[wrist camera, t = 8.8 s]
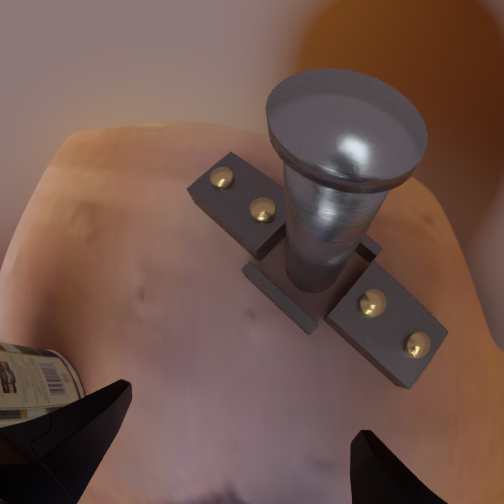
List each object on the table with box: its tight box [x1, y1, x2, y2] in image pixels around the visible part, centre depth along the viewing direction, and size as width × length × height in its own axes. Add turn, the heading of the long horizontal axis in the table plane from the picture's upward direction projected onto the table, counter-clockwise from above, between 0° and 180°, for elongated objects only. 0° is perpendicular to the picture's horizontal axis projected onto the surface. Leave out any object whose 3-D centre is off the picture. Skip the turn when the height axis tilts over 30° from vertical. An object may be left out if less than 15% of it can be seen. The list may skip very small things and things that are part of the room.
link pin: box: [266, 68, 428, 293], centre depth 13 cm, size 5×5×15 cm
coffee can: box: [0, 342, 85, 427], centre depth 12 cm, size 10×10×14 cm
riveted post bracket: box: [187, 152, 448, 389], centre depth 19 cm, size 22×8×3 cm, turn 45°
